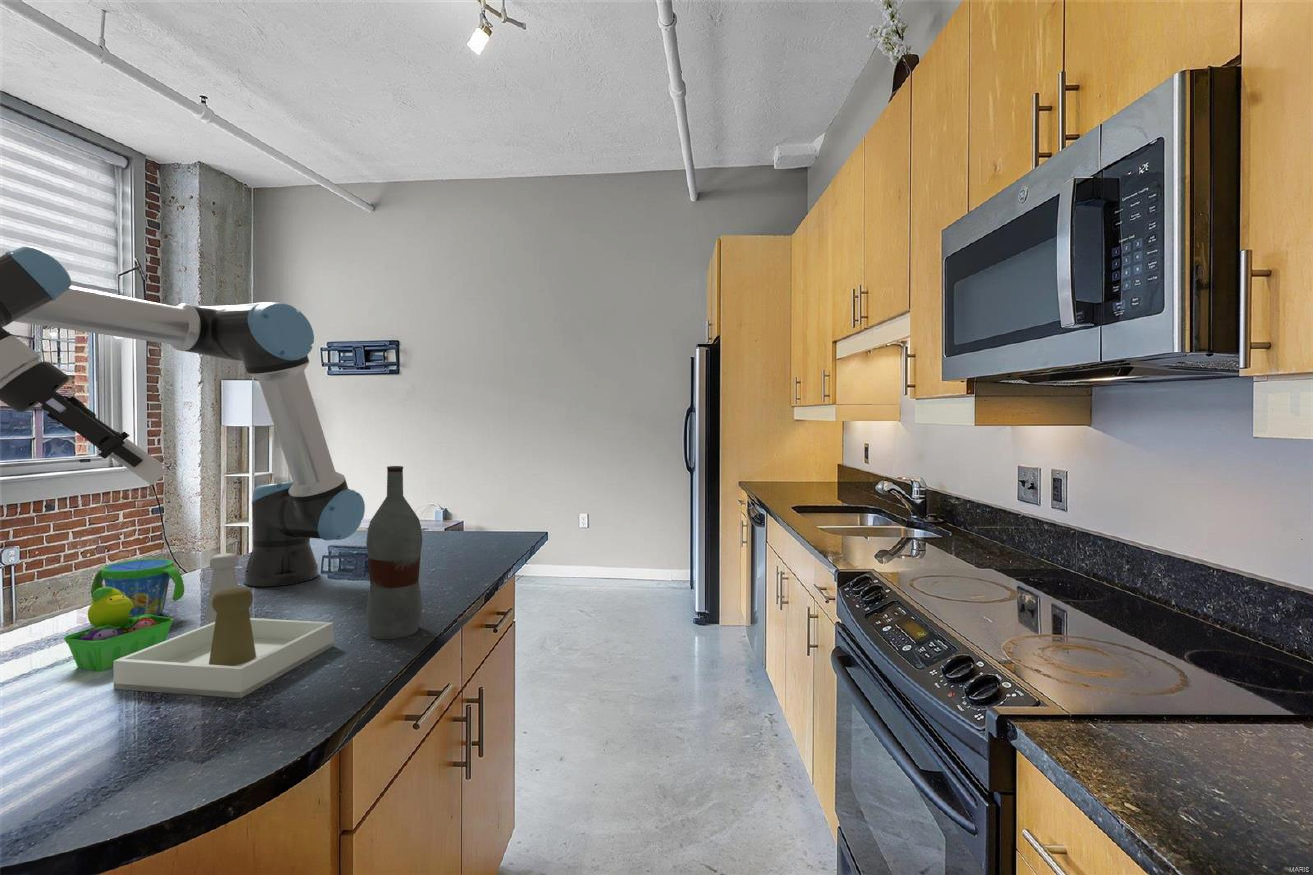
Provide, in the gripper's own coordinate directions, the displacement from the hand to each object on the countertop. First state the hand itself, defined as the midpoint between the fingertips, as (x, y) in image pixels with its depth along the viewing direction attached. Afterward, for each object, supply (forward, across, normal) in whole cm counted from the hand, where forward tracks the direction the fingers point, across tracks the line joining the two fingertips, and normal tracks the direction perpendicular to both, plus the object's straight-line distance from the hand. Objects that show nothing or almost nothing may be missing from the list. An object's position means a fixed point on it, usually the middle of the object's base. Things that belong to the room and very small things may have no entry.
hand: (158, 474), depth 97 cm
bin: (+26, +12, -15) cm, 33 cm away
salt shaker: (+27, -12, -14) cm, 33 cm away
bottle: (+44, +12, +2) cm, 45 cm away
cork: (+26, +12, -14) cm, 32 cm away
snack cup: (+19, -26, -23) cm, 40 cm away
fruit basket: (+17, -2, -25) cm, 30 cm away
